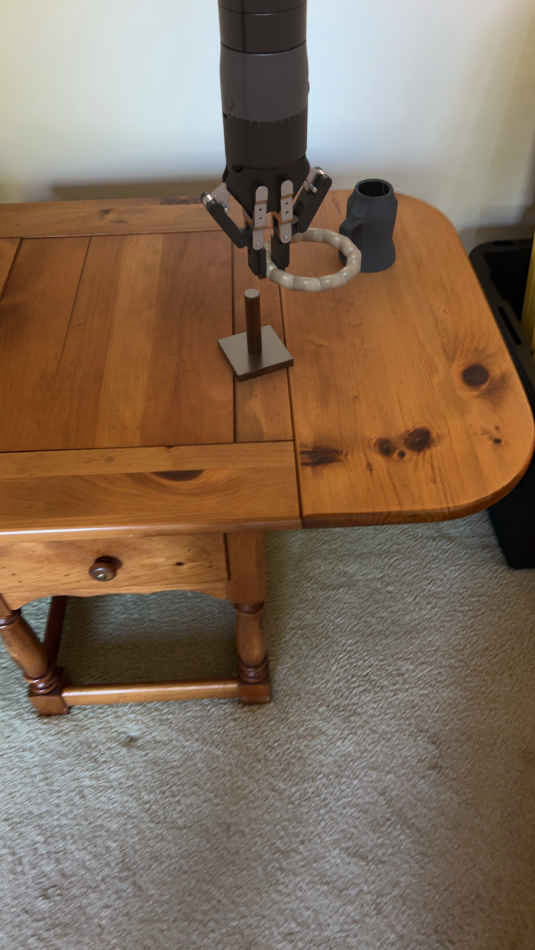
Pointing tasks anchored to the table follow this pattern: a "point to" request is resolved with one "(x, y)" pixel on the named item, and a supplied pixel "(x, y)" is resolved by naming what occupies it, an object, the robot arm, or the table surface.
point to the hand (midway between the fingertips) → (268, 272)
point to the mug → (371, 224)
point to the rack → (254, 345)
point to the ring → (322, 282)
